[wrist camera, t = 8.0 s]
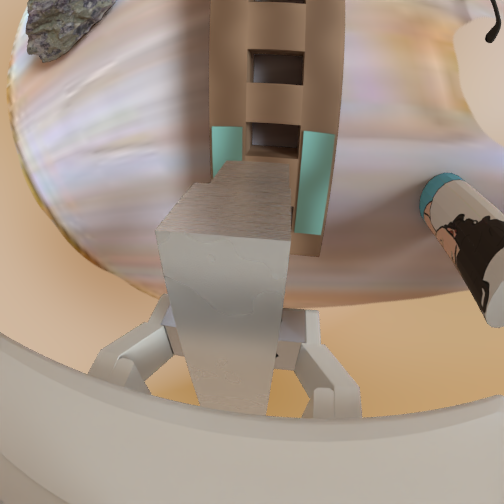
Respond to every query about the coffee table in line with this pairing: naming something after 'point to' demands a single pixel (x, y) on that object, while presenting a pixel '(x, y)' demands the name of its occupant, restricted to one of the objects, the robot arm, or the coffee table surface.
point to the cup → (469, 239)
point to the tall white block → (230, 280)
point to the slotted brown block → (280, 98)
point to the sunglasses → (494, 31)
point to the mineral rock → (60, 24)
